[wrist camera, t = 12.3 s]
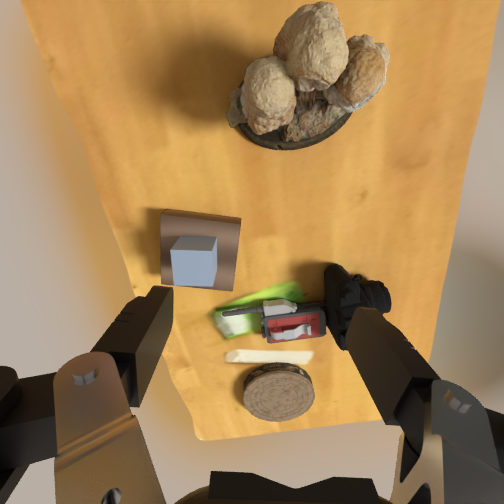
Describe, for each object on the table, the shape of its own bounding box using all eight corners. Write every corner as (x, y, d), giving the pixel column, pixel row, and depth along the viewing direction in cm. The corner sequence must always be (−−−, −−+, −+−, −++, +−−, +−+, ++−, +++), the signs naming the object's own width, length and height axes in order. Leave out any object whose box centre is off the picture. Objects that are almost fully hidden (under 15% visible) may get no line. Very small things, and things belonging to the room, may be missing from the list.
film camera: (369, 320, 49) (397, 356, 41) (322, 328, 49) (340, 365, 40) (374, 253, 43) (408, 278, 34) (321, 261, 43) (342, 289, 34)
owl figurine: (241, 165, 37) (235, 175, 21) (217, 74, 32) (187, 0, 16) (360, 132, 35) (451, 117, 19) (352, 31, 31) (463, -94, 15)
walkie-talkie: (326, 290, 45) (221, 305, 46) (333, 304, 41) (219, 320, 42) (327, 326, 49) (230, 339, 50) (334, 343, 45) (229, 356, 46)
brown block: (168, 208, 39) (160, 214, 36) (241, 217, 40) (240, 224, 36) (168, 272, 44) (161, 284, 40) (233, 279, 45) (232, 291, 41)
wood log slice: (285, 416, 60) (287, 429, 58) (230, 394, 57) (229, 407, 54) (325, 377, 55) (329, 389, 53) (267, 350, 52) (269, 362, 49)
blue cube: (180, 235, 37) (170, 249, 32) (216, 237, 37) (211, 251, 32) (183, 267, 39) (173, 285, 34) (217, 268, 39) (212, 286, 34)
